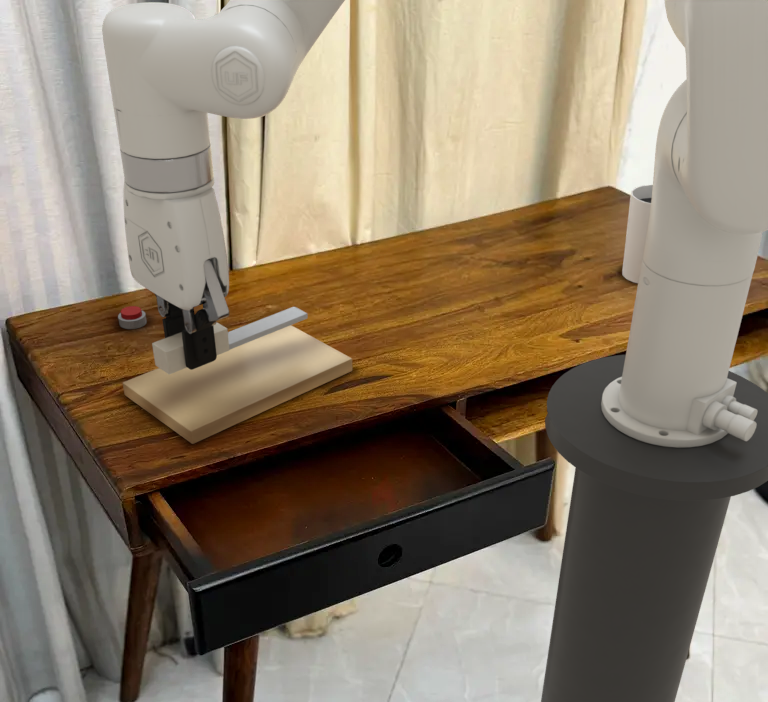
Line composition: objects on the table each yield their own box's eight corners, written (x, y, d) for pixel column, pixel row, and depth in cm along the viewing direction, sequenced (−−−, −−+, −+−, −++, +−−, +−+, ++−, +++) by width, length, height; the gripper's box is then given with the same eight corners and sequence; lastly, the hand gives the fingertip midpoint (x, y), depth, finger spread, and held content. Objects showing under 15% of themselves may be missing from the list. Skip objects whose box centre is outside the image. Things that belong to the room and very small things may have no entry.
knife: (169, 374, 93) (165, 352, 91) (155, 365, 94) (151, 343, 92) (308, 318, 102) (307, 297, 100) (293, 310, 103) (292, 289, 102)
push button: (141, 329, 110) (139, 317, 109) (115, 327, 110) (113, 315, 109) (150, 317, 112) (148, 305, 111) (125, 315, 112) (123, 303, 112)
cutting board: (352, 371, 103) (352, 358, 102) (192, 444, 92) (190, 431, 91) (281, 331, 110) (280, 319, 109) (124, 395, 99) (122, 382, 98)
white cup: (669, 290, 118) (685, 208, 112) (613, 281, 120) (626, 200, 113) (676, 267, 123) (692, 188, 116) (623, 260, 124) (635, 181, 118)
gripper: (80, 153, 86) (114, 340, 98) (184, 204, 77) (208, 404, 88) (154, 135, 90) (178, 317, 102) (261, 181, 81) (274, 376, 93)
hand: (192, 356), depth 95 cm, fingers closed on knife, 2 cm apart
